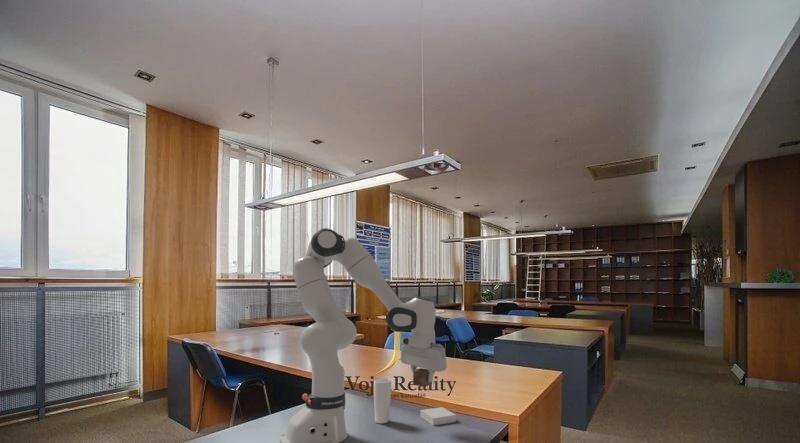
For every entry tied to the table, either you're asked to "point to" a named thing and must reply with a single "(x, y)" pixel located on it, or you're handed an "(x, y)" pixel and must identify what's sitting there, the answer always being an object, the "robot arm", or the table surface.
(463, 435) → the table surface
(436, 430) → the table surface
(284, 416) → the table surface
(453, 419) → the grey tile
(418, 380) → the walnut cube
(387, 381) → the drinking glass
